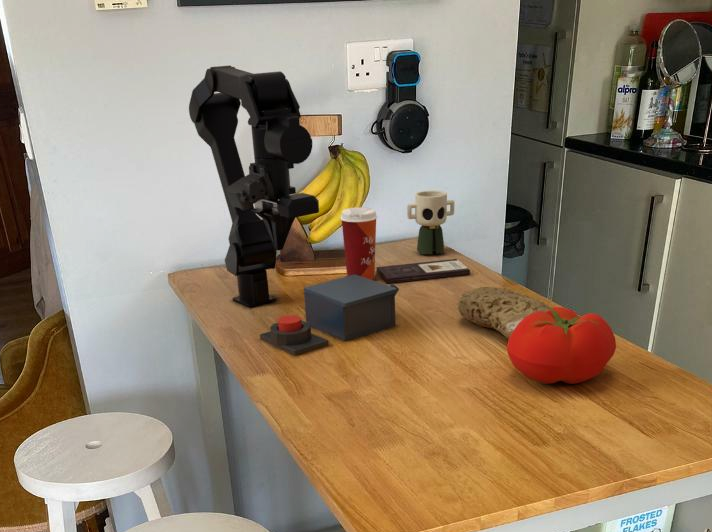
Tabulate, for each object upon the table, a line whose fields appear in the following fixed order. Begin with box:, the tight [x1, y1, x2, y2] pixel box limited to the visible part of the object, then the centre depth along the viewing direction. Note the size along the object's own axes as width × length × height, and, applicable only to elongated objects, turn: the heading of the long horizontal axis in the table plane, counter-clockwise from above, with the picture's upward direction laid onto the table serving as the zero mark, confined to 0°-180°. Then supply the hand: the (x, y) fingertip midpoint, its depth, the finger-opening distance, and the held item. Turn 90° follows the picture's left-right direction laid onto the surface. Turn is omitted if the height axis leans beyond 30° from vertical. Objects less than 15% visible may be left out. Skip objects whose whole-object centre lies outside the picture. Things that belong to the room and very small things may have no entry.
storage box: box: [303, 291, 396, 342], centre depth 150 cm, size 12×12×6 cm
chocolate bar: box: [375, 258, 471, 284], centre depth 177 cm, size 9×1×18 cm
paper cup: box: [339, 206, 379, 281], centre depth 172 cm, size 8×8×14 cm
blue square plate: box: [303, 274, 398, 307], centre depth 148 cm, size 12×12×1 cm
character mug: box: [406, 190, 455, 255], centre depth 188 cm, size 11×7×13 cm, turn 101°
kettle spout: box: [389, 283, 400, 296], centre depth 152 cm, size 2×5×5 cm, turn 128°
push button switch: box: [259, 320, 329, 357], centre depth 145 cm, size 11×7×3 cm
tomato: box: [506, 306, 617, 385], centre depth 126 cm, size 14×16×10 cm
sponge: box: [457, 286, 551, 341], centre depth 145 cm, size 13×8×20 cm
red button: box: [277, 315, 302, 332], centre depth 144 cm, size 4×4×2 cm
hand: (279, 249), depth 149 cm, fingers closed
